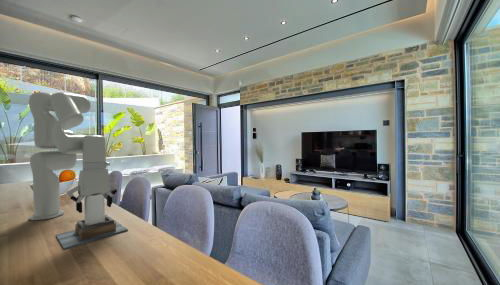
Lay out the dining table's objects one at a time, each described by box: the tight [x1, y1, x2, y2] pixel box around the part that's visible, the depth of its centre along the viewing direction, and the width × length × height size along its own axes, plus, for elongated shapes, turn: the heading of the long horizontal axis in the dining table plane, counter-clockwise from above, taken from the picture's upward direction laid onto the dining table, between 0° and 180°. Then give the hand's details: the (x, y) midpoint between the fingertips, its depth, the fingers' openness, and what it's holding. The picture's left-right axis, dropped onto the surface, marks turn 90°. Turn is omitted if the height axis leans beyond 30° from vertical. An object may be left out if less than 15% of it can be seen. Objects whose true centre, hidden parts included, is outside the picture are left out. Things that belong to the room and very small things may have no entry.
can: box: [83, 193, 106, 226], centre depth 87 cm, size 6×6×12 cm
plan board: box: [55, 214, 129, 250], centre depth 87 cm, size 16×20×5 cm
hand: (95, 209), depth 87 cm, fingers open, 9 cm apart
